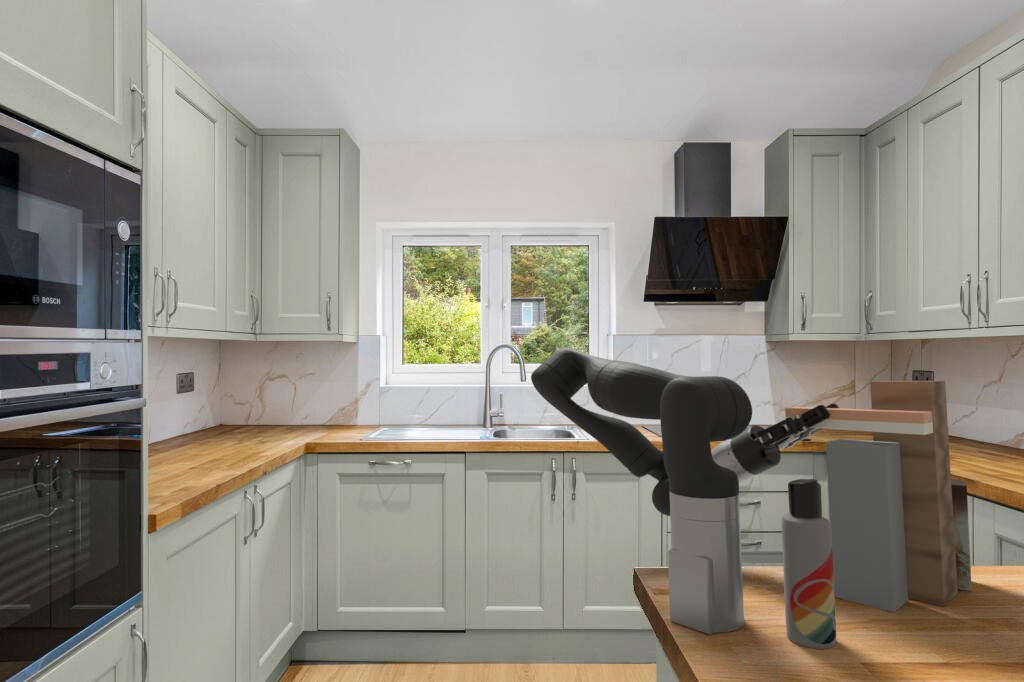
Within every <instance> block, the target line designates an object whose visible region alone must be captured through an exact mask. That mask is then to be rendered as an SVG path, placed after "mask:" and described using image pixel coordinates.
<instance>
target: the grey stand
mask: <svg viewBox="0 0 1024 682" xmlns="http://www.w3.org/2000/svg"><path fill="white" fill-rule="evenodd" d="M825 447H826V448H825V451H826V472H827V488H828V489H827V490H828V491H827V492H828V496H827V497H828V510H829V511H828V513H829V518H828V519H829V520H830V521H831V532H832V552H833V574H834V595H835V598H836V599H837V598H838V599H840V600H844V601H848V602H853V603H856V604H860V605H864V606H868V607H871V608H876V609H880V610H883V611H888V612H891V613H896V611H898V610H899V609H900V608H902V607H903V606H904V605H906V604H907V603H908V602H909V598H908V588H907V569H906V551H905V533H904V514H903V496H902V477H901V459H900V443H897V442H882V441H873V440H866V439H865V440H864V439H851V438H850V439H849V438H840V439H835V440H829V441H825Z"/></svg>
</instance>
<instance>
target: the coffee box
mask: <svg viewBox="0 0 1024 682" xmlns="http://www.w3.org/2000/svg"><path fill="white" fill-rule="evenodd" d="M951 488H952V505H953V522H954V538H955V555H956V572H957V589H958V590H961V591H968V592H972V589H973V588H972V586H973V585H972V573H971V572H972V569H971V567H972V566H971V549H970V547H971V546H970V544H971V543H970V530H969V527H970V526H969V506H968V504H969V503H968V486H967V483H966V482H965V481H963V480H962V479H956V478H955V479H954V478H951Z"/></svg>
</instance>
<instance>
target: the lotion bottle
mask: <svg viewBox="0 0 1024 682" xmlns="http://www.w3.org/2000/svg"><path fill="white" fill-rule="evenodd" d="M787 490H788V491H787V494H788V510H789V511H788V512H789V513H785V514H783V515H782V516H781V542H782V544H781V545H782V547H781V548H782V564H783V565H782V566H783V589H784V590H783V591H784V609H785V610H784V612H785V613H784V614H785V615H784V616H785V631H786V636H787V637H788V639H789V640H790V641H791V642H793V643H795V644H797V645H800V646H801V647H805V648H809V649H810V648H811V649H818V650H821V649H822V650H824V649H831V648H833V647H834V646H835V645H836V644H837V621H836V619H837V618H836V602H835V601H836V600H835V599H836V597H835V595H834V574H833V552H832V532H831V521H830V518H828V517H827V516H823V508H822V507H823V506H822V486H821V484H820V483H819V482H818V479H815V478H814V479H813V478H810V479H809V478H807V479H805V478H804V479H803V478H801V479H794V480H791V481H789V482H788V483H787Z"/></svg>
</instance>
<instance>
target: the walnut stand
mask: <svg viewBox="0 0 1024 682" xmlns="http://www.w3.org/2000/svg"><path fill="white" fill-rule="evenodd" d="M869 383H870V398H871V399H870V400H871V401H870V403H871V409H873V410H901V411H929V412H932V420H933V433H930V434H926V435H917V434H901V433H885V432H872V437H873V438H872V439H873V440H872V441H882V442H897V443H900V459H901V477H902V496H903V514H904V533H905V551H906V569H907V588H908V599H910V600H915V601H920V602H924V603H928V604H932V605H936V606H941V607H946V605H948V604H949V603H950V602H951V601H952V600H953V599H954V598H956V596H958V595H959V592H958V591H959V589H957V572H956V555H955V538H954V522H953V505H952V488H951V479H952V475H951V474H952V473H951V472H952V471H951V459H950V458H951V456H950V441H949V440H950V439H949V438H950V437H949V422H948V420H949V419H948V409H947V408H948V406H947V404H948V403H947V391H946V390H947V389H946V380H879V381H870V382H869Z"/></svg>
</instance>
